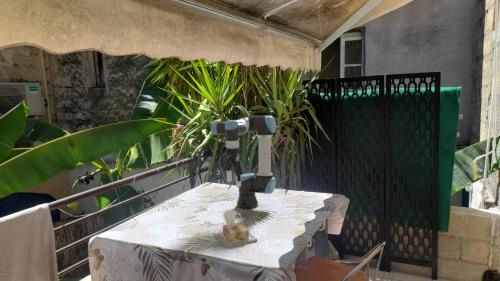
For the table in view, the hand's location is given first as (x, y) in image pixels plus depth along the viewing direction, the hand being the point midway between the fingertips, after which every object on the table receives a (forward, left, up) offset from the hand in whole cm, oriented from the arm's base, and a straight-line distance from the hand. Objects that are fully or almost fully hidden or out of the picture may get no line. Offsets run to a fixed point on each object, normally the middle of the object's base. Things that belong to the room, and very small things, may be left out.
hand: (233, 184), depth 202 cm
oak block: (+4, +10, -27) cm, 29 cm away
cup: (+4, +6, -22) cm, 24 cm away
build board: (+4, +10, -28) cm, 30 cm away
